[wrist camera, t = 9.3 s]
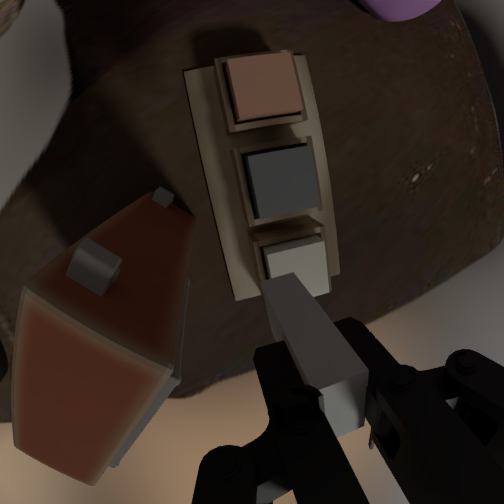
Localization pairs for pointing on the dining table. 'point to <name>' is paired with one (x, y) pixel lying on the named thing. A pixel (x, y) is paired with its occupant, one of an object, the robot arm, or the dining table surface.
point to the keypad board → (234, 179)
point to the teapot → (397, 8)
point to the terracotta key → (262, 87)
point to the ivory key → (299, 262)
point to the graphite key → (281, 181)
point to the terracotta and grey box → (101, 339)
